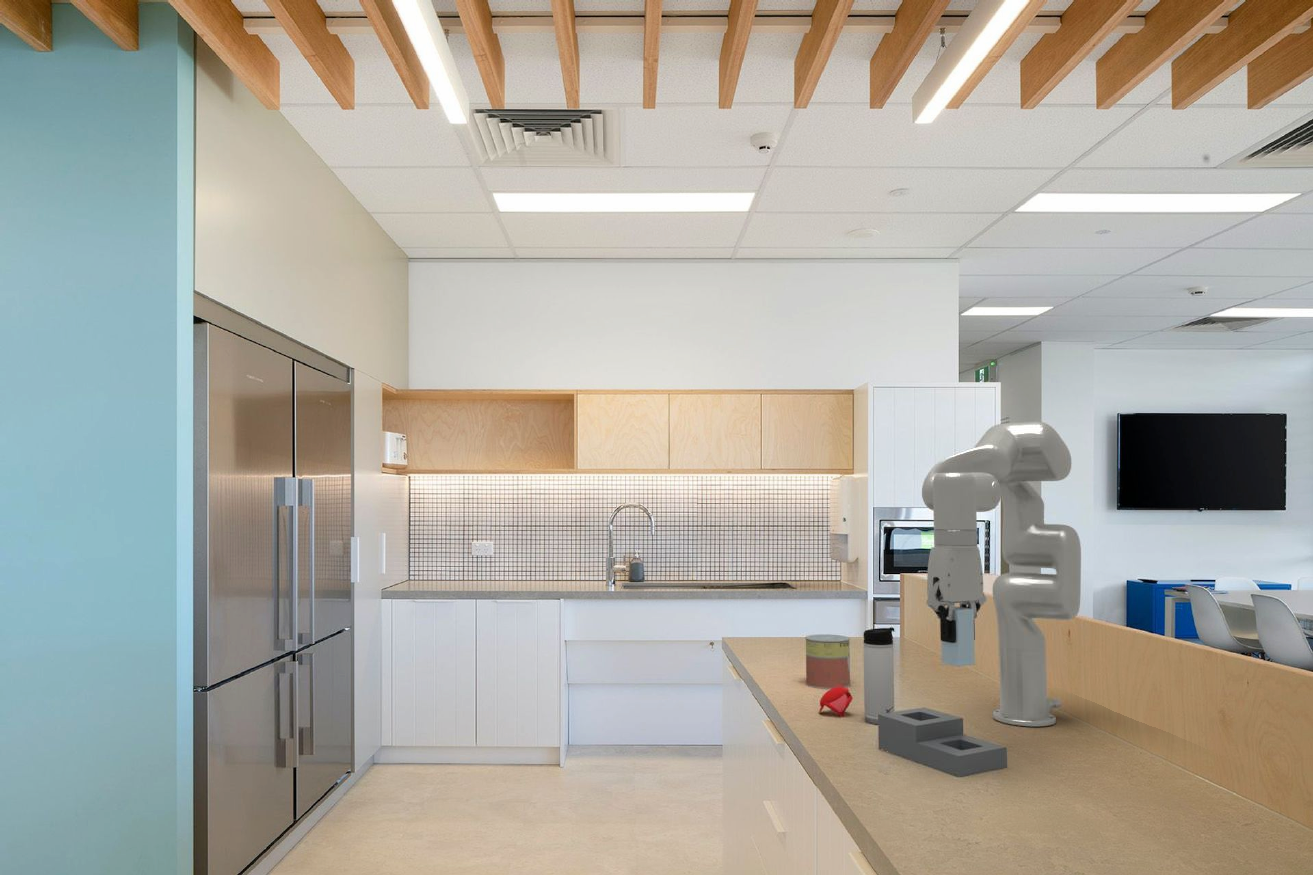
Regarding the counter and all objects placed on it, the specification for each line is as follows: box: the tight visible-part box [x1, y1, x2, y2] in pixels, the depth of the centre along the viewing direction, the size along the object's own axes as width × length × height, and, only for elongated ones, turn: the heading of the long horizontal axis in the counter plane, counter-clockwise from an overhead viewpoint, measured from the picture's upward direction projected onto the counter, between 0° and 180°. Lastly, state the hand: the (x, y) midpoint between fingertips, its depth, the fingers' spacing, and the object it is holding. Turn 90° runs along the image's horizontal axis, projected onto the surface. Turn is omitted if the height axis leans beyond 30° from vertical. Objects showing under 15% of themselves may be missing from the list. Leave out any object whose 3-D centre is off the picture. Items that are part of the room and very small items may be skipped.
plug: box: [940, 606, 976, 667], centre depth 164 cm, size 4×5×10 cm
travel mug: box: [862, 626, 896, 726], centre depth 195 cm, size 6×7×20 cm
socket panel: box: [877, 707, 1008, 778], centre depth 167 cm, size 12×20×6 cm, turn 28°
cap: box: [818, 687, 853, 717], centre depth 201 cm, size 8×6×6 cm
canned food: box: [805, 634, 851, 690], centre depth 233 cm, size 11×11×12 cm
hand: (957, 639), depth 164 cm, fingers closed on plug, 4 cm apart
